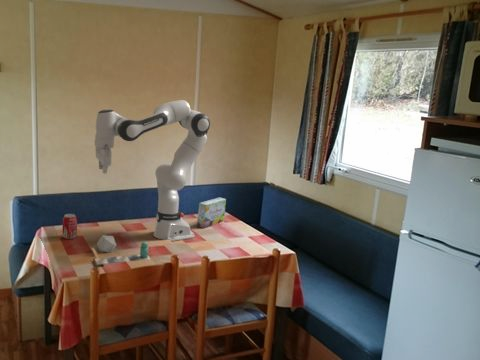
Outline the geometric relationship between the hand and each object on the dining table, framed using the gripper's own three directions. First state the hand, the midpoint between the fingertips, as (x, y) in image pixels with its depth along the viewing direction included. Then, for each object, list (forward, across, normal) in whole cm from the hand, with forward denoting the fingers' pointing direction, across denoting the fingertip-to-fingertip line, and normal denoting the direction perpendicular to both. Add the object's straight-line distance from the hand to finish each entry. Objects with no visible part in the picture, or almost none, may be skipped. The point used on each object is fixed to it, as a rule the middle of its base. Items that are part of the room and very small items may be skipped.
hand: (102, 171), depth 231 cm
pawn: (+37, -23, -17) cm, 47 cm away
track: (+38, -23, -7) cm, 45 cm away
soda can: (+39, +14, +12) cm, 43 cm away
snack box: (+37, +20, -71) cm, 83 cm away
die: (+39, -10, -2) cm, 40 cm away
